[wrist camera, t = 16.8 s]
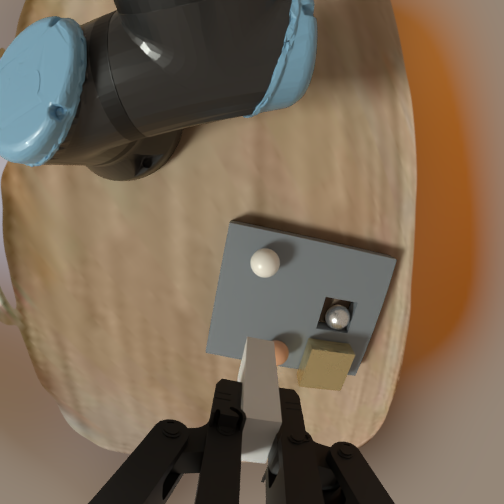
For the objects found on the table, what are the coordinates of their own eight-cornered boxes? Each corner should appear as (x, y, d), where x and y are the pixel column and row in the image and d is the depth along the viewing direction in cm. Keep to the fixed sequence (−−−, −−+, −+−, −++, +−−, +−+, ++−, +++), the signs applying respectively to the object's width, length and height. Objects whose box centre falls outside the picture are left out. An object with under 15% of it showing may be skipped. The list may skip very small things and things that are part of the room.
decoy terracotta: (259, 354, 41) (260, 368, 38) (265, 333, 40) (266, 346, 37) (284, 358, 41) (286, 372, 38) (290, 337, 41) (293, 350, 37)
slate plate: (208, 343, 44) (205, 352, 41) (231, 220, 40) (229, 222, 37) (351, 366, 44) (355, 375, 42) (389, 255, 41) (396, 259, 38)
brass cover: (296, 373, 42) (299, 386, 39) (308, 337, 40) (312, 349, 37) (335, 378, 42) (340, 390, 39) (349, 343, 40) (355, 354, 38)
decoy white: (248, 269, 39) (247, 278, 35) (253, 243, 38) (253, 249, 35) (275, 275, 39) (277, 284, 35) (281, 248, 38) (284, 255, 35)
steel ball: (317, 325, 42) (335, 335, 39) (323, 302, 41) (341, 311, 38) (334, 321, 43) (351, 331, 41) (339, 299, 43) (357, 308, 40)
